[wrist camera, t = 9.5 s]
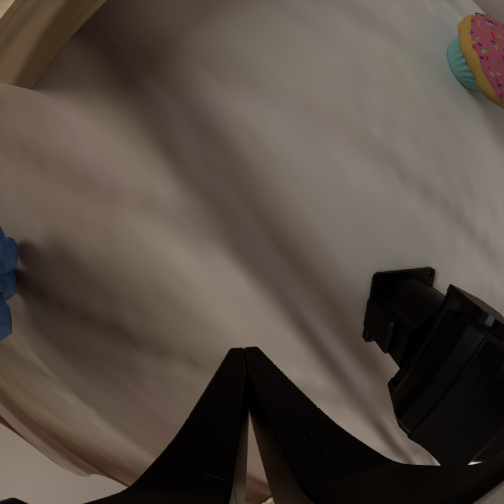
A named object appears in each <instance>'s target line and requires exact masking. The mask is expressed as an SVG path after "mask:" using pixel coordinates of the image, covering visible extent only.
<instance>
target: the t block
mask: <svg viewBox="0 0 504 504" xmlns="http://www.w3.org/2000/svg"><path fill="white" fill-rule="evenodd" d="M106 1H107V0H0V83H5V84H9V85H14V86H18V87H23V88H27V89H31V90H32V88H33V87H34V85H35V84H36V82H37V81H38V80H39V78H40V77H41V75H42V74H43V72H44V71H45V70H46V68H47V67H48V66H49V64H50V63H51V62H52V60H53V59H54V58H55V57H56V55H57V54H58V53H59V52H60V50H61V49H62V48H63V47H64V45H65V44H66V43H67V42H68V41H69V40H70V38H71V37H72V36H73V35H74V34H75V33H76V32H77V30H78V29H79V28H80V27H81V26H82V25H83V24H84V23H85V22H86V21H87V20H88V19H89V18H90V17H91V16H92V15H93V14H94V13H95V12H96V11H97V10H98V9H99V8H100V7H101V6H102V5H103V4H104V3H105V2H106Z"/></svg>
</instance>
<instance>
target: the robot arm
mask: <svg viewBox="0 0 504 504" xmlns="http://www.w3.org/2000/svg"><path fill="white" fill-rule="evenodd" d="M429 273H430V274H429ZM434 276H435V270H434V269H433V268H431V267H424V268H415V269H405V270H395V271H384V272H377V273H375V274H374V275H373V278H372V284H371V291H370V297H369V299H368V301H367V307H366V313H365V319H364V324H363V325H364V331H363V336H362V338H363V339H364V341H365V342H371V341H375V342H376V343H377V344H378V346H379V347H380V348H381V350H382V351H383V352H384V353H385V354H386V353H389V354H390V356H391V357H392V358H393V360H394V361H395V362H396V364H397V365H398V366H399V368H400V369H399V371H398V372H397V373H396V375H395V376H394V377H393V378H391V380H390V381H389V382H388V388H389V392H390V396H391V400H392V404H393V408H394V415H395V417H396V420H397V423H398V425H399V427H400V428H401V429H402V430H403V431H404V432H405V433H406V434H407V437H408V438H409V439H410V440H412V441H414V442H416V443H417V444H419V445H421V446H422V447H423V448H424V449H426V450H427V451H428V452H429V453H430V454H431V455H432V456H433V457H434V458H435V459H436V460H437V461H438V462H439V464H440V465H441V466H433V465H412V464H403V463H399V462H396V461H393V460H391V459H388V458H386V457H385V456H383V455H381V454H380V453H378V452H377V451H375V450H374V449H372V448H370V447H369V446H367V445H366V444H364V443H363V442H361V441H360V440H358V439H357V438H355V437H354V436H352V435H351V434H350V433H348V432H347V431H345V430H344V429H343V428H341V427H340V426H339V425H337V424H336V423H335V422H334V421H333V420H332V419H330V418H329V417H328V416H327V415H326V414H325V413H324V412H323V411H322V410H321V409H320V408H318V407H317V406H316V405H315V404H314V403H313V402H312V401H311V400H310V399H309V398H308V397H307V396H306V395H305V394H304V393H303V392H302V391H301V390H300V389H299V388H298V387H297V386H296V385H295V384H294V383H293V382H292V381H291V380H290V379H289V378H288V377H287V376H286V375H285V374H284V373H283V372H282V371H281V370H280V369H279V368H278V367H277V366H276V365H275V364H274V363H273V362H272V361H271V360H270V359H269V358H268V357H267V356H266V355H265V354H264V353H263V352H262V351H261V350H260V349H259V348H258V347H245V348H244V349H243V348H231V349H230V350H229V351H228V353H227V355H226V356H225V358H224V360H223V361H222V363H221V365H220V366H219V368H218V370H217V371H216V373H215V374H214V376H213V378H212V379H211V381H210V383H209V384H208V386H207V388H206V389H205V391H204V392H203V394H202V396H201V397H200V399H199V401H198V402H197V404H196V405H195V407H194V409H193V410H192V412H191V413H190V415H189V418H187V420H186V421H185V423H184V424H183V426H182V427H181V429H180V430H179V432H178V433H177V435H176V436H175V438H174V439H173V440H172V441H171V443H170V444H169V445H168V446H167V447H166V449H165V450H164V451H163V452H162V453H161V454H160V456H159V457H158V458H157V459H156V460H155V461H154V462H153V463H152V464H151V465H150V466H149V468H148V469H147V470H146V471H145V472H144V473H143V474H142V475H141V476H140V477H139V478H138V479H137V480H136V481H135V482H134V483H133V484H132V485H131V486H129V487H128V488H126V489H125V490H123V491H121V492H120V493H117V494H114V495H111V496H108V497H105V498H101V499H98V500H95V501H91V502H88V503H84V504H245V494H246V472H247V451H248V428H249V413H250V418H251V422H252V426H253V430H254V433H255V437H256V441H257V445H258V448H259V452H260V456H261V459H262V463H263V467H264V470H265V474H266V477H267V481H268V484H269V488H270V491H271V495H272V498H273V501H274V504H504V317H503V316H502V315H501V314H500V313H499V312H498V311H496V310H495V309H493V308H492V307H491V306H489V305H488V304H486V303H485V302H483V301H482V300H480V299H479V298H477V297H475V296H473V295H471V294H469V293H467V292H466V291H464V290H462V289H460V288H458V287H456V286H454V285H452V284H450V285H449V287H448V289H447V291H448V292H447V294H446V296H444V295H443V294H442V293H440V292H439V291H438V290H436V289H435V288H434V287H432V286H433V281H434ZM379 277H380V279H379V280H378V281H377V279H378V278H379ZM369 335H370V336H369ZM367 336H369V337H367ZM470 462H481V463H478V464H473V465H468V464H469V463H470ZM0 504H28V503H26V502H24V501H21V500H19V499H16V498H8V499H5V500H1V501H0Z"/></svg>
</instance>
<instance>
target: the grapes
mask: <svg viewBox="0 0 504 504" xmlns="http://www.w3.org/2000/svg"><path fill="white" fill-rule="evenodd" d="M17 260H18V248H17V244H16V242H15V240H14V239H12V238H10V237H5V234H4V232H3V230H2V228H1V227H0V340H3V339H4V338H5V337H7V336H8V335H9V334H11V333H12V319H11V313H10V308H9V307H8V305H7V304H6V302H5V301H6V300H8V299H9V298H11V297H12V296H13V295H14V294H16V275H15V273H14V271H13V269H14V268H15V267H16V266H17Z"/></svg>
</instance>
